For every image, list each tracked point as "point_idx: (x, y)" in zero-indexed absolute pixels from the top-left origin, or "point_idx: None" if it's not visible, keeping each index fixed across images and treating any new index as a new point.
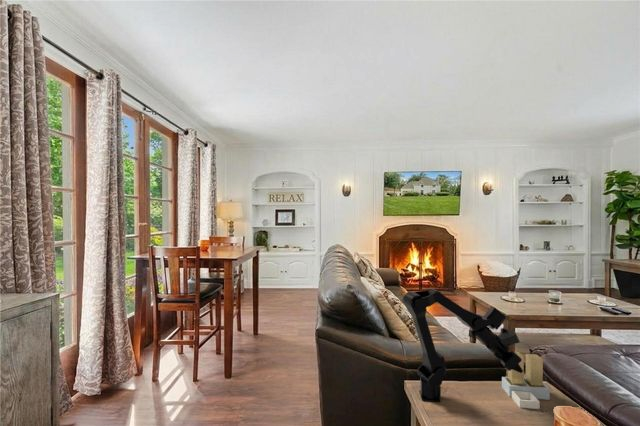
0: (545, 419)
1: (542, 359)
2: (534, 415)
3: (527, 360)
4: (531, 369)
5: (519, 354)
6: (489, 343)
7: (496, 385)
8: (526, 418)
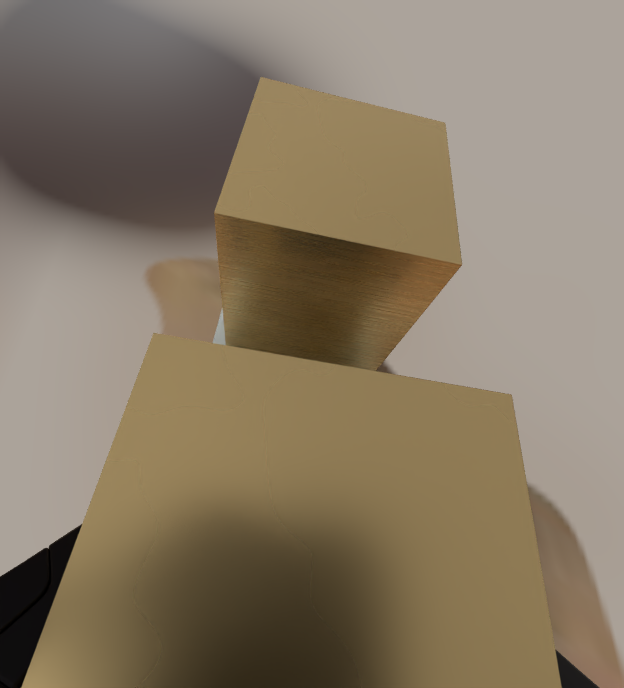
0: (567, 524)
1: (439, 129)
2: (544, 577)
3: (294, 301)
4: (377, 358)
5: (380, 441)
6: None
7: None
8: (605, 675)
